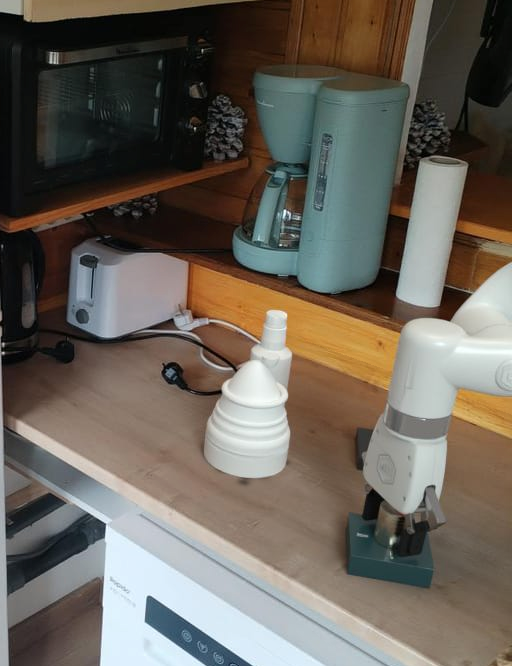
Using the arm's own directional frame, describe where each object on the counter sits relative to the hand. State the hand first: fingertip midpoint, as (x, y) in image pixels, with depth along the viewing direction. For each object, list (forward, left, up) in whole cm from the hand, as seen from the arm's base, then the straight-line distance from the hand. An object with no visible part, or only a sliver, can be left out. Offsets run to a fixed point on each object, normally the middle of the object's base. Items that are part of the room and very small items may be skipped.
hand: (390, 535), depth 119 cm
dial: (0, 0, -1) cm, 1 cm away
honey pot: (+20, -21, -4) cm, 29 cm away
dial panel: (0, 0, -4) cm, 4 cm away
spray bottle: (+18, -38, -4) cm, 42 cm away
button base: (-3, -27, -4) cm, 27 cm away
